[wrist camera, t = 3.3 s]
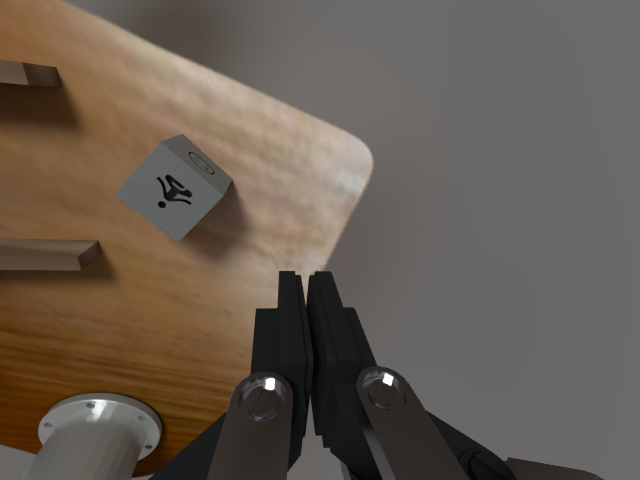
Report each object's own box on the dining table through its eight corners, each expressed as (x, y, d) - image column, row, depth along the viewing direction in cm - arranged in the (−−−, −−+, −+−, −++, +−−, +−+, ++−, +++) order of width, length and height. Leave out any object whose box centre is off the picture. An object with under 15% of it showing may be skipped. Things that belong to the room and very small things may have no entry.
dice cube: (232, 178, 25) (223, 196, 21) (194, 217, 26) (178, 242, 22) (182, 133, 23) (160, 141, 19) (143, 177, 24) (114, 195, 20)
